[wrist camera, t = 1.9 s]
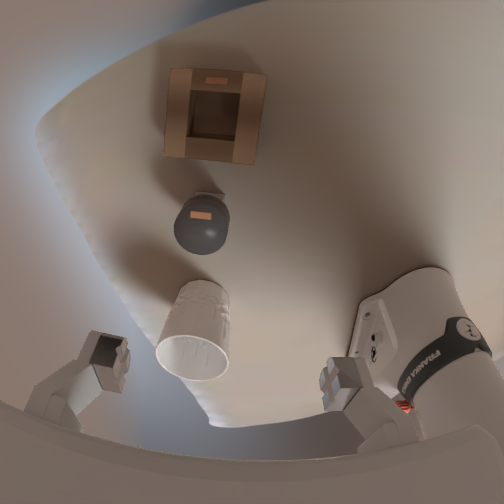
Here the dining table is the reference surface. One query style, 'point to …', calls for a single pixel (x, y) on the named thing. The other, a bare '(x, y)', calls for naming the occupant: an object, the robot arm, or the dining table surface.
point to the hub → (213, 115)
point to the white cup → (196, 333)
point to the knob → (202, 223)
